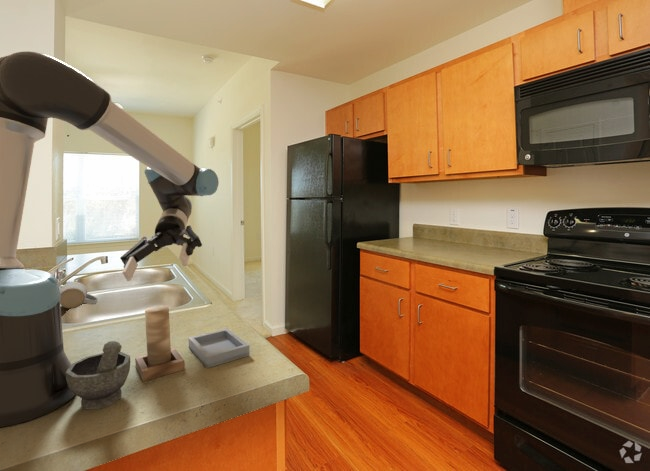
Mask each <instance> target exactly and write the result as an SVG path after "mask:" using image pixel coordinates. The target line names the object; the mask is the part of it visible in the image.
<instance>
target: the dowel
mask: <svg viewBox="0 0 650 471" xmlns="http://www.w3.org/2000/svg"><path fill="white" fill-rule="evenodd" d="M144 319H145V320H144V321H145V336H146V354H147V358H148V365H147V367H148V368H149V367H153V366H156V365H160V364H164V363H167V362H171V361H172V360H171V348H172V347H171V328H170V307H169V306H165V305H163V306H162V305H161V306H160V305H159V306H152V307H149V308H147V309H145V310H144Z"/></svg>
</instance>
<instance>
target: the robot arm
mask: <svg viewBox="0 0 650 471" xmlns="http://www.w3.org/2000/svg"><path fill="white" fill-rule="evenodd" d="M49 119H57V120H60V121H63V122H66V123H68V124H70V125H72V126H73V127H75V128H76V129H78V130H81V131H88V130H89V131H91V132H93V133H94V134H95V135H97V136H99V137H101V138H102V139H103V140H105V141H107V142H108V143H110V144H111V145H113V146H114V147H116V148H118V149H120V150H121V151H122V152H124V153H125V154H127V155H129V156H131V158H133V159H135V160H136V161H138V162H139V163H141V164H143V165H144V166H146V168H144V174H145V177H146V179H147V184H149V187H150V188H151V190H152V191H153V193H154V196H155V198H156V199H157V202H158V204H159V205H160V208H161V210H162V213H161V215H160V217H159V220H158V222H157V223H156V226H155V228H154V234H153V235H152V236H151V237H150V238H147V236H143V237H142V238H141V239H140V240H139V241H138V242H137V243H136V244H135V245H133V246H132V247H130V249H128V251H126V252H125V253H124V254H123V255H122V256H120V258H119V259H120V260H121V262H122V263H123V270H122V271H121V272H122V275H123V276H124V278H125V279H126V281H127V282H129V281H131V280H132V278H133V277H134V274H135V272H136V271H137V267H138V265H139V264H138V263H139V262H140V261H142V260H144V259H145V258H146V257H148V256H149V255H151V254H152V253H154V252H158V251H159V250H161V249H163V248H164V247H167V246H172V245H177V246H181V250H180V253H179V257H178V258H179V260H180V262H181V264H182V266H183V267H187V266H188V262H189V258H190V256H192V255H193V254H194V250H195V249H196V247H197V248H201V247H202V246H203V244H202V242H201V240H200V239H201V238H200V237H199V235H197V234H196V233H195V232H194V230H193V228H192V226H191V225H187V224H188V221H189V219H190V216H191V214H192V209H193V208H192V207H193V203H192V202H191V199H190V198H188V197H189V196H191V197H195V196H196V197H203V196H206V197H207V196H212V195H214V194H215V193H216V192H217V191H218V188H219V177H218V175H217V174H216V172H215V170H213V169H211V168H205V167H203V168H201V167H199V166H197V165H196V164H195V163H193V162H191V160H189V159H187V157H185V156H184V155H182V153H180V152H178V151H177V150H176V149H175V148H173V146H171V145H169V144H168V143H167V142H165V141H164V140H163V139H162V138H160V137H159V136H158V135H156V134H155V133H153V132H152V131H151V130H150V129H148V128H147V127H146V126H144V125H143V124H142V123H141V122H139V121H138V120H136V119H135V118H134V117H133V116H131V115H130V114H129V113H127V112H126V111H125V110H124V109H122V108H121V107H120V106H118V105H117V104H116V103H114V102H113V100H112V96H111V94H110V93H109V92H108V91H107V90H105V88H103V87H102V86H100V85H99V84H98V83H96V81H93V80H92V79H91V78H90V77H88V76H86V75H85V74H84V73H83V72H81V71H79V70H78V69H76V68H74V67H73V66H71V65H69V64H67V63H65V62H64V61H62V60H59V59H57V58H56V57H53V56H50V55H47V54H44V53H41V52H38V51H37V52H36V51H29V50H28V51H18V52H14V53H12V54H8V55H5V56H3V57H2V56H1V57H0V428H2V427H3V428H4V427H9V426H13V425H17V424H21V423H25V422H29V421H31V420H34V419H37V418H40V417H42V416H45V415H46V414H49V413H51V412H53V411H55V410H56V409H59V408H60V407H62V406H64V405H65V404H67V403H68V402H69V401H70V400H72V399H73V398H74V397H75V395H76V394H74V393H73V392H72V391H71V390H70V388H69V387H68V384H67V381H66V371H67V370H68V368H69V367H70V365H71V364H72V363H71V361H70V360H69V358H68V356H67V354H66V351H65V350H64V335H63V334H64V333H63V324H62V323H63V322H62V321H63V320H62V310H61V309H62V308H61V304H60V297H61V294H60V290H61V289H59V288H60V287H59V283H58V279H57V278H56V277H55V276H54V275H53V274H52V273H50V272H48V271H44V270H42V269H41V270H40V269H32V268H31V269H25V265H24V264H23V263H22V262H21V261H20V260H19V259H18V258H17V250H18V244H19V237H20V231H21V226H22V222H23V214H24V209H25V208H24V207H25V202H26V196H27V190H28V184H29V183H28V182H29V178H30V171H31V166H32V158H33V152H34V147H35V143H36V142H38V141H40V140H42V139H44V138H45V137H46V133H47V126H48V120H49ZM185 236H187V237H185Z"/></svg>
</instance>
